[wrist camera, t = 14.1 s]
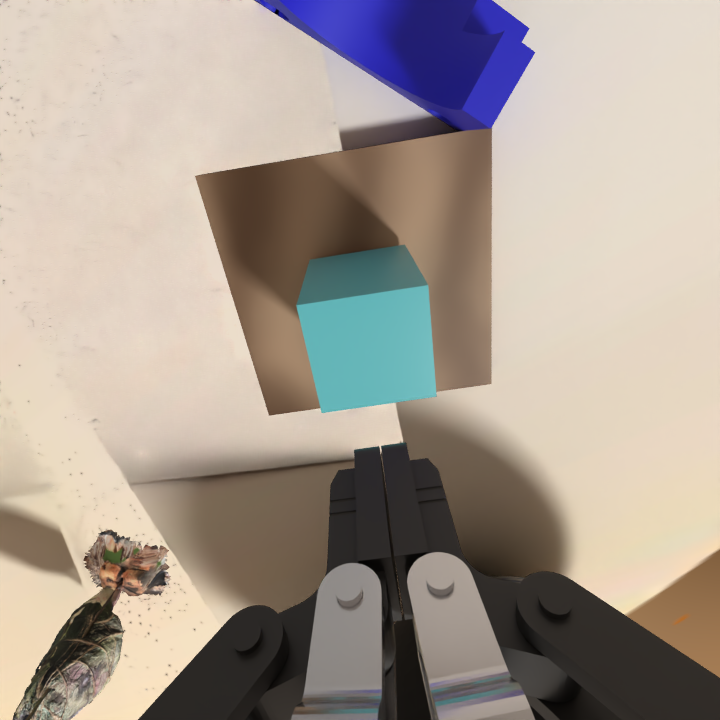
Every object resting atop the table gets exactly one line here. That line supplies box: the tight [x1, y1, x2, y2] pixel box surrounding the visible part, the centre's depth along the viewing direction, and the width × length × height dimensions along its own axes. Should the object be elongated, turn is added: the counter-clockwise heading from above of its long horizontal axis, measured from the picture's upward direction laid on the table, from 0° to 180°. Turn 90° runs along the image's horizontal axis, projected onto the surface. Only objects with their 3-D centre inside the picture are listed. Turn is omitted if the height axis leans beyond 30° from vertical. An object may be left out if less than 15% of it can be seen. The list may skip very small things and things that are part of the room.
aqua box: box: [296, 245, 437, 413], centre depth 22 cm, size 6×6×8 cm
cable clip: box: [255, 0, 535, 131], centre depth 18 cm, size 12×4×6 cm, turn 62°
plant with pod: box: [13, 530, 171, 720], centre depth 30 cm, size 8×11×20 cm
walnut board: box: [195, 127, 492, 415], centre depth 26 cm, size 16×16×1 cm
